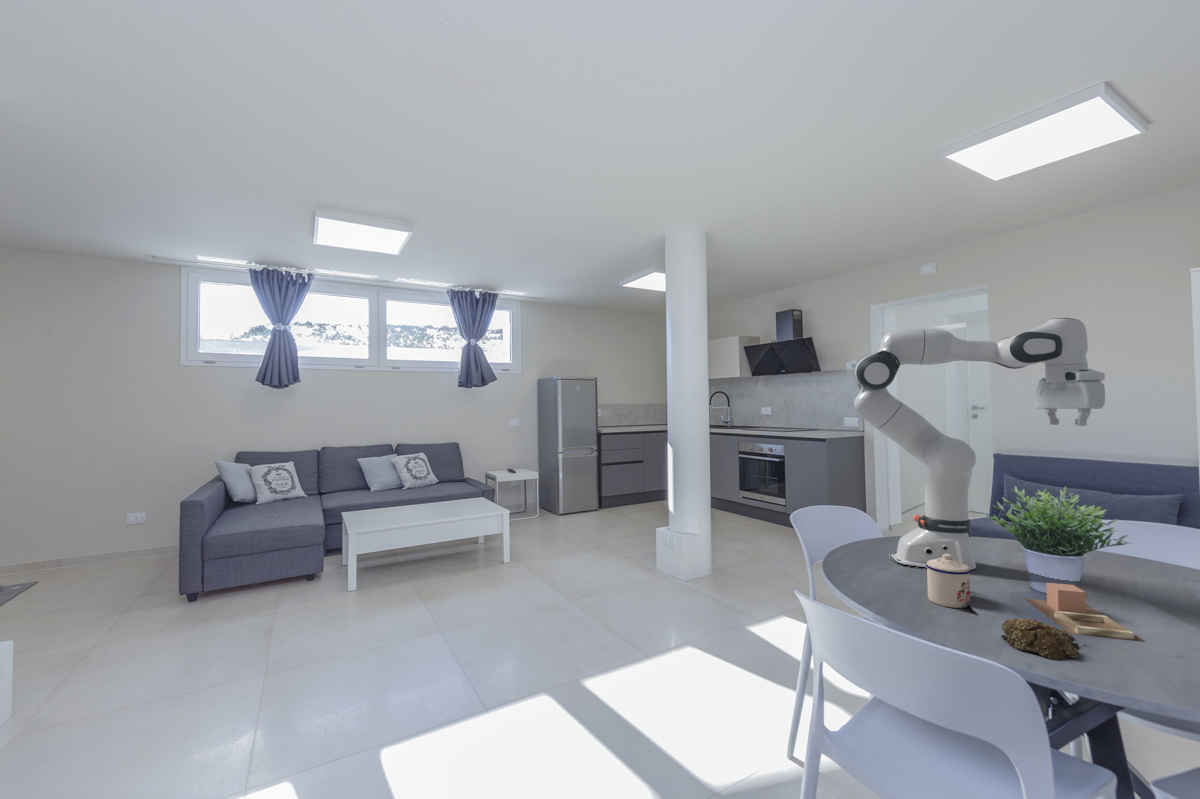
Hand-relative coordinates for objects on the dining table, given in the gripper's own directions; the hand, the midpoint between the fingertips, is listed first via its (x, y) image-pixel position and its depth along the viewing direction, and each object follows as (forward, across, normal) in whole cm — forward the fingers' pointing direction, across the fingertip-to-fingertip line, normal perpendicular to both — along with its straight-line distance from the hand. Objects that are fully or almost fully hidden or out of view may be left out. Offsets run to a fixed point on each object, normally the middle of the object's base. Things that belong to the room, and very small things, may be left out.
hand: (1066, 425), depth 141 cm
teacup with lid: (+44, +20, -41) cm, 63 cm away
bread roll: (+44, +43, -37) cm, 72 cm away
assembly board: (+43, +32, -22) cm, 58 cm away
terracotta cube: (+42, +27, -20) cm, 54 cm away
